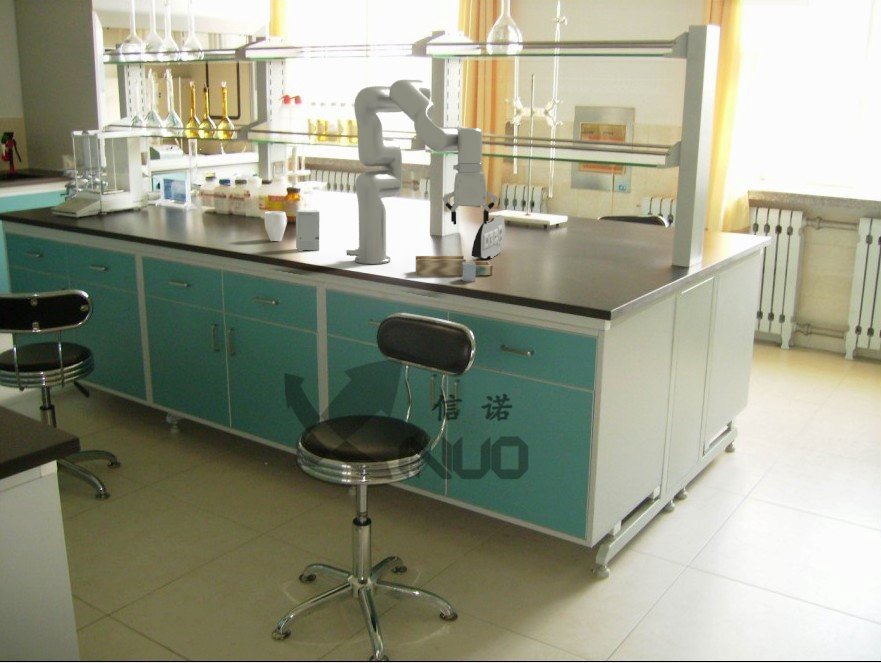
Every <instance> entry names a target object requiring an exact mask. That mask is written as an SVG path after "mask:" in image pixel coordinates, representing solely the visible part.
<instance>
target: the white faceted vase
mask: <svg viewBox="0 0 881 663" xmlns="http://www.w3.org/2000/svg"><path fill="white" fill-rule="evenodd" d="M263 216H264V227H265V230H266V234H267V235H268V238H269V241H270V242H272V241H279V242H281V241H282V240H283V238H284V233H285V230H286V227H287V224H288V217H287V214H286V211H282V210H268V211H265V212H264V215H263Z"/></svg>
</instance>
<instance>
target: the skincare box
mask: <svg viewBox="0 0 881 663" xmlns="http://www.w3.org/2000/svg"><path fill="white" fill-rule="evenodd" d="M295 234H296V235H295V242H296V243H295V244H296V246H295V249H296V248H297V249H298V250H313V251H320V211H318V210H315V209H314V210H313V209H298V210H295ZM297 249H296V250H297ZM298 250H297V251H298Z"/></svg>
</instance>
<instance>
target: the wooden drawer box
mask: <svg viewBox="0 0 881 663" xmlns="http://www.w3.org/2000/svg"><path fill="white" fill-rule="evenodd" d="M462 262H474V263H475V264H476V275H492V276H493V265H492V263H491V262H490V261H489V260H466V259H465V258H464V255H415V274H416V276H417V277H418V276H462Z"/></svg>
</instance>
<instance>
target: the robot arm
mask: <svg viewBox="0 0 881 663" xmlns="http://www.w3.org/2000/svg"><path fill="white" fill-rule="evenodd" d="M431 97H432V95H431V89H430V87H429V85H428V84H427V83H426V82H425V81H423V80H421V79H400V80H396V81H394V82H393V83H391V85H390V86H383V85H381V86H377V85H376V86H373V85H372V86H368V87H364V88H362V89H361V90H360V91H359V92H357V95H356V96H355V99H354V104H353V107H354V108H353V109H354V115H355V120H356V126H357V128H356V129H357V148H358V149H357V152H358V160H359V162H360V164H361V165H362V166H364V167H369V168H370V167H371V168H373V167H375V168H377V167H380V168H381V169H380V170H379V169H378V170H377V169H376V170H367V171H364V172H361V173H360V174H359V175H358V176H356V180H355V183H354V184H355V186H354V187H355V191H356V192H355V193H356V199H357V204H358V248H355V249H346V253H345V254H346V256H350V257H354V262H356V263H358V264H362V265H363V264H364V265H383V264H387V262H388V263H390V262H391V257H390V256H388V255H387V212H386V211H387V210H386V206H385V205H384V202H383V201H382V199H383V198H392V197H396V196H398V195H399V194H400V192H402V188H403V161H402V160H403V159H402V158H403V157H402V155H403V154H402V150H401V146H400V145H399V143H398V142H397V141H396V140H395V139H393V138H390V137H384V136H383V126H382V125H383V124H382V122H381V120H380V117H379V116H378V113H402V112H403V113H404V114H405V115H406V116H407V117H408V118H409V119H410V120H411V121H412V122H413V126H414V131H415V134H416V136H417V138H418V139H419V141H421V142H422V143H423V144H424V145H425V146H426V147H427V148H428V149H430V150H431V151H433V152H435V153H436V152H437V153H446V152H447V153H448V152H449V153H450V152H457V164H453V165H452V166H453V167H452V168H453V170H456V171H457V172H456V173H455V177H454V183H453V191H452V192H450V193H448V194H446V195H444V196H443V197H442V201H443V203H444V206H446V208H447V209H449V211H450V212H451V214H450V215H451V216H450V221H451V222H452V224H453V225H454V226H456V225H457V211H456V210H457V209H458V207H482V208H483V212H482V214H483V217H482V218H483V219H482V220H483V221H482V222H483V223H484V224H487V223H488V222H490V221H489V217H490V216H489V214H490V213H489V211H490V210H491V209H493V207H494V206H495V205H496V203H497V200H498V196H496V195H494V194H493V193H491V192H489V191H487V180H486V174H485V173H484V172H483V131H482V129H480V128H478V127H477V128H476V127H460V126H455V127H454V126H445V127H440V126H438V125H437V124H435V123H434V122H433V120H431V119H433V117H434V115H435V111H436V107H435V104H434V102H433V101H431ZM383 137H384V138H383ZM487 197H488V198H489V199H491V201H490V203H489V204H487V199H488V198H487ZM451 198H453V204H452V205H451V204H450V202H449V199H451ZM382 263H383V264H382Z"/></svg>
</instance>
